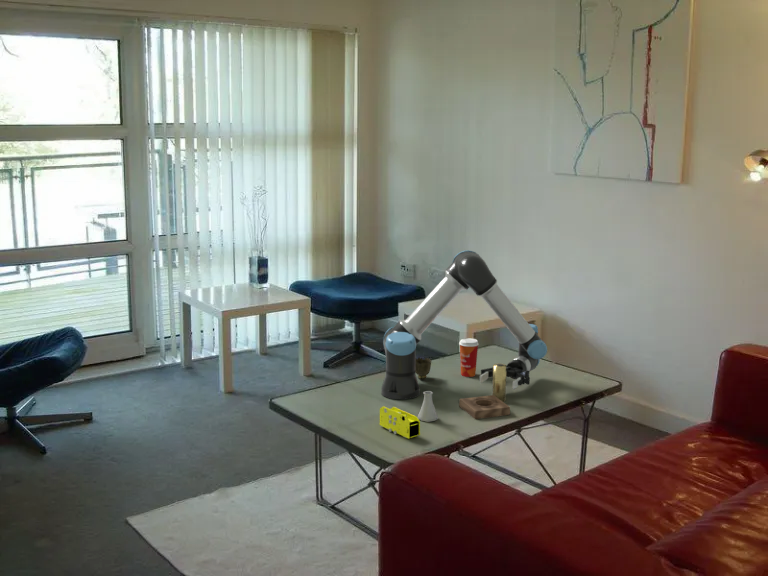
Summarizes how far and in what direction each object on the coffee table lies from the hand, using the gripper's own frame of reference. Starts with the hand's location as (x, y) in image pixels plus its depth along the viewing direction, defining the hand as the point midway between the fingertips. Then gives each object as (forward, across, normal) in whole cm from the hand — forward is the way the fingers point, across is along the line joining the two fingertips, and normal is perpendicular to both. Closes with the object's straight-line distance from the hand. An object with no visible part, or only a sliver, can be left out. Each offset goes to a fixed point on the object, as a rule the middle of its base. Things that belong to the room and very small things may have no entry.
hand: (496, 382), depth 322 cm
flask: (+29, +14, -8) cm, 33 cm away
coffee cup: (-25, +24, -8) cm, 35 cm away
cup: (-11, +38, -8) cm, 40 cm away
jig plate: (+11, 0, -8) cm, 13 cm away
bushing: (-3, 0, -8) cm, 8 cm away
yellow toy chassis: (+45, +16, -8) cm, 49 cm away
